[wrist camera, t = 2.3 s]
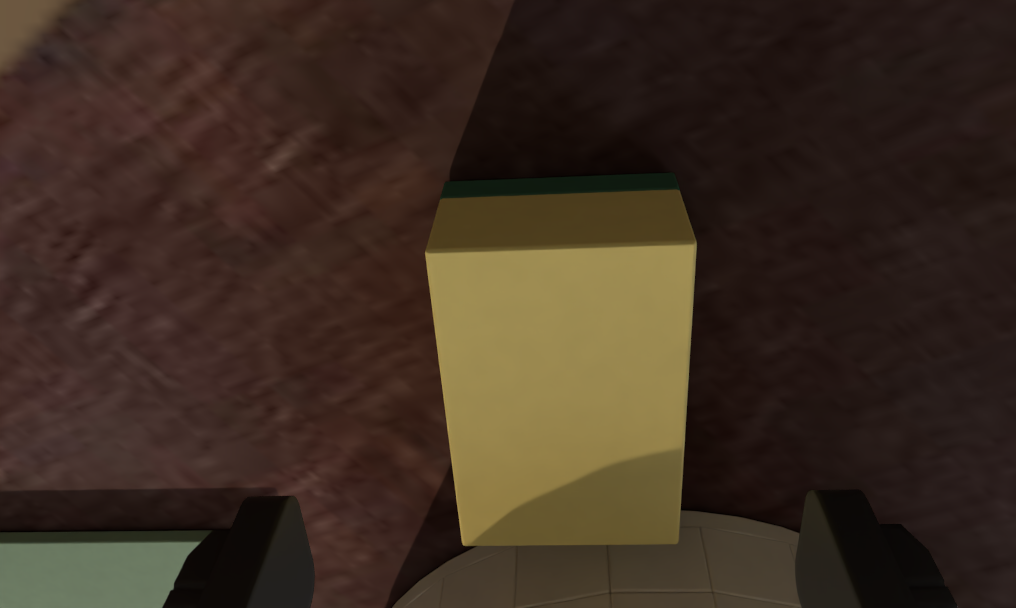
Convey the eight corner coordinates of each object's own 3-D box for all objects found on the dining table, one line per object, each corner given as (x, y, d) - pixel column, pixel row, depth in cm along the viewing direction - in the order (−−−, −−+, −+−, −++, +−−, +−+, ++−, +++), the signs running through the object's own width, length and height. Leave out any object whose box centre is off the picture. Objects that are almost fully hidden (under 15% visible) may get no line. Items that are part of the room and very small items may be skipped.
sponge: (444, 180, 16) (423, 249, 14) (674, 171, 16) (698, 241, 14) (473, 452, 20) (461, 547, 17) (663, 448, 20) (679, 545, 17)
